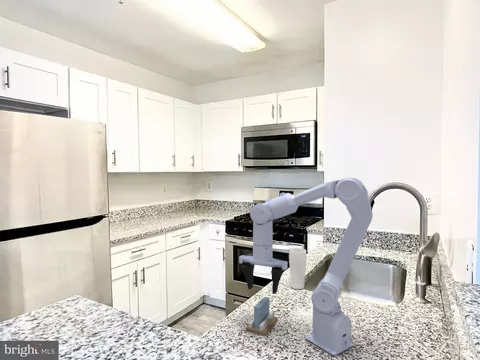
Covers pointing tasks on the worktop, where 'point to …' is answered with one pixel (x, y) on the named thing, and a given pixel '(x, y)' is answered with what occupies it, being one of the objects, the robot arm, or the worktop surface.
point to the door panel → (261, 311)
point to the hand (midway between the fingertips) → (262, 290)
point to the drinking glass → (297, 267)
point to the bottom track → (263, 325)
